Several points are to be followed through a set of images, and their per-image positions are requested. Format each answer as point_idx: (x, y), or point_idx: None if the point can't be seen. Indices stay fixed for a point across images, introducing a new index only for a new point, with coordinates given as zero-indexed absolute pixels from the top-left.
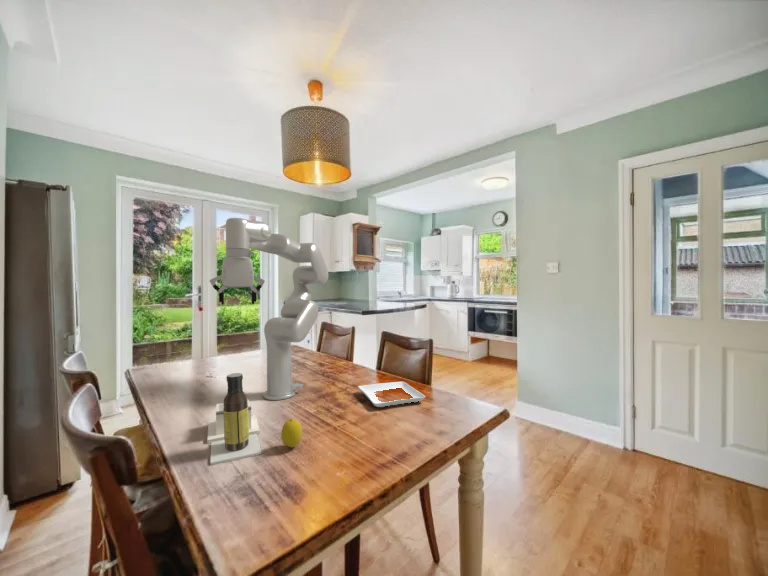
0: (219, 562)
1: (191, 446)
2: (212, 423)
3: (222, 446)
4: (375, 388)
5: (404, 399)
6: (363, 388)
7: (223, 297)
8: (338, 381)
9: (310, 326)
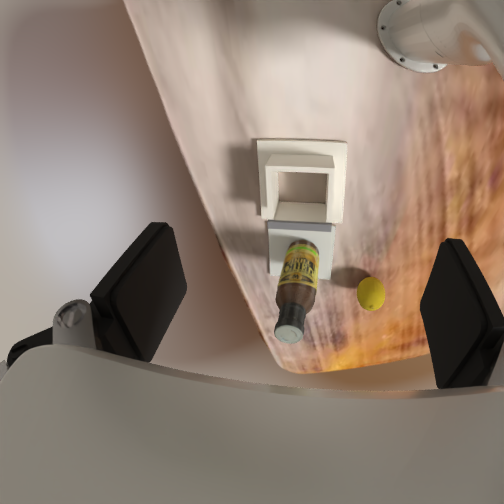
0: (280, 365)
1: (241, 214)
2: (264, 153)
3: (283, 242)
4: None
5: None
6: None
7: (162, 334)
8: None
9: None
